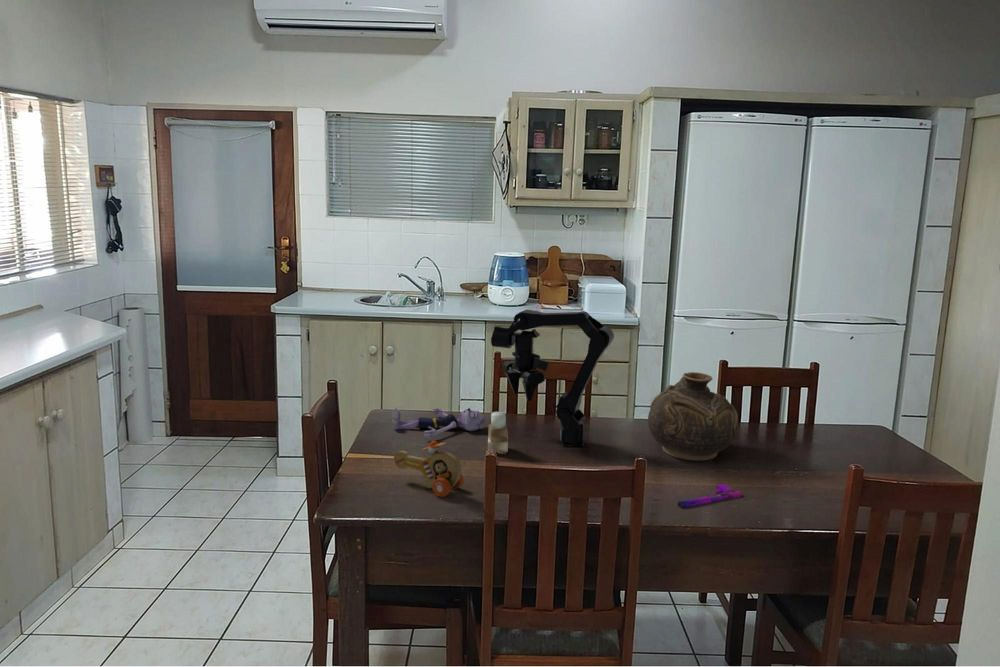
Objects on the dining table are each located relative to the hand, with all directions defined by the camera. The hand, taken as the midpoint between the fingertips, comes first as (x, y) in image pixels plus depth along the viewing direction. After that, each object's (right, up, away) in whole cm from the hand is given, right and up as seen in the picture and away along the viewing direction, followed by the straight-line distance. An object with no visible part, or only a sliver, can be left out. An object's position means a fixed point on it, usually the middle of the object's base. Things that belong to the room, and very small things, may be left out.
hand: (522, 397), depth 241 cm
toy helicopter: (-26, -21, -40) cm, 52 cm away
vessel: (+52, -16, -8) cm, 55 cm away
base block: (-8, -16, -12) cm, 21 cm away
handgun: (+48, -24, -42) cm, 68 cm away
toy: (-27, -11, +8) cm, 30 cm away
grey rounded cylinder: (-8, -8, -14) cm, 17 cm away
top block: (-8, -12, -13) cm, 19 cm away
